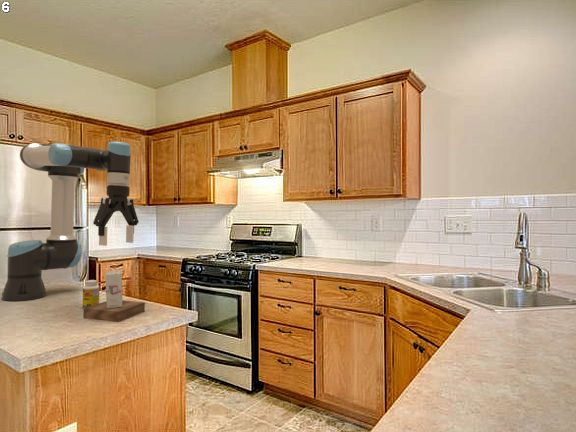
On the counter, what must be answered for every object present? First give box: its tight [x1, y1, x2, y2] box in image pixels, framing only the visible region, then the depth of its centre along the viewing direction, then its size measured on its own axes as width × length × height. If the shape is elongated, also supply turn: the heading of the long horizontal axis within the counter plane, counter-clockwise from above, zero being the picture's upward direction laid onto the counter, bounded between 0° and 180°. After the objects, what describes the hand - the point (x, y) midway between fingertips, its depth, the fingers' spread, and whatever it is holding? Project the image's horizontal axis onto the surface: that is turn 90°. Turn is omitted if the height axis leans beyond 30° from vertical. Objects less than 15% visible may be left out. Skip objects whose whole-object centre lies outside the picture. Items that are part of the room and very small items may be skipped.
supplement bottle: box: [82, 279, 100, 309], centre depth 141 cm, size 6×6×10 cm
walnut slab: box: [82, 299, 146, 323], centre depth 133 cm, size 14×14×4 cm
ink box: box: [104, 269, 124, 308], centre depth 132 cm, size 9×5×12 cm, turn 22°
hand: (116, 244), depth 136 cm, fingers open, 13 cm apart
